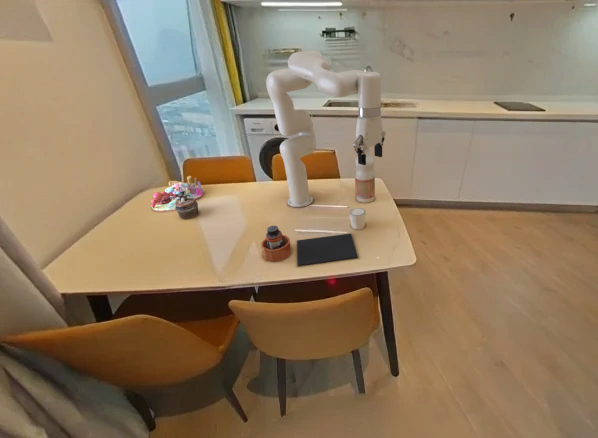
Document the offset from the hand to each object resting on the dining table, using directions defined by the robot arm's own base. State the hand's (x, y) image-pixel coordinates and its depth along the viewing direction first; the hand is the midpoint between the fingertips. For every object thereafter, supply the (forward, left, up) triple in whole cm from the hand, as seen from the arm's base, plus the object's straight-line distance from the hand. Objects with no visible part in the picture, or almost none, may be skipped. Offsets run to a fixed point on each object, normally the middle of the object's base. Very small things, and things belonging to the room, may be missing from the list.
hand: (370, 160), depth 116 cm
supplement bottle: (+6, -38, -31) cm, 50 cm away
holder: (+6, -38, -31) cm, 50 cm away
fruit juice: (-30, +3, -31) cm, 43 cm away
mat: (+8, -20, -31) cm, 38 cm away
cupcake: (-34, -81, -31) cm, 93 cm away
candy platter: (-53, -91, -31) cm, 109 cm away
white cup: (-6, -5, -31) cm, 32 cm away
